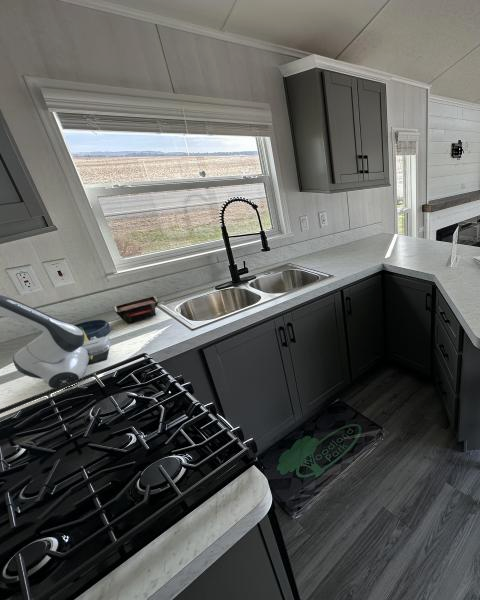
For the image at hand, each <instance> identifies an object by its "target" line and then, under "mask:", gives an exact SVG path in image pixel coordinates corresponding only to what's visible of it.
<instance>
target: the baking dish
mask: <svg viewBox="0 0 480 600" xmlns="http://www.w3.org/2000/svg"><path fill="white" fill-rule="evenodd" d="M158 304H159V298H158V296H155V295H151V296H148V297H144V298H139V299H136V300H131V301H129V302H124V303H122V304H121V303H120V304H117V305H115V306H114V307H113V312H114V313H115V314H116V315H118V316H119V317H120V318H121V319H122V320H123V322H124V323H126V325H131V324H134V323H137V322H140V321H143V320H146V319H150V318H153V317H156V316H157V313H156V308H157V306H158Z"/></svg>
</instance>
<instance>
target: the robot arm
mask: <svg viewBox="0 0 480 600" xmlns="http://www.w3.org/2000/svg"><path fill="white" fill-rule="evenodd" d="M3 317H4V318H6V317H7V318H12V319H15V320H17V321H19V322H22V323H24V324H26V325H29V326H31V327H33V328H35V329H38V330H40V331H41V332H42V333H41V334H40V335H38V336H37V337H36V338H34V339H33V340H32V341H30V342H29V343H27V344H25V346H23V347H22V348H21V349H19V350H17V352H16V353H13V356H12V362H13V365H14V367H15V368H16V371H18V372H19V373H21V374H22V375H25V376H27V377H30V378H34V379H40V380H43V381H44V382H45V383H46V384H47V386H48V387H49V388H51V389H53V390H56V389H55V388H58V387H60V386H63V385H65V384H68V383H70V382H73V381H75V380H78V379H80V378H82V377H83V378H84V376H85V374H86V371H87V367H88V366H89V365H88V361H89V358H90V356H93V355H96V354H100V353H103V352H106V351H107V350H108V349H109V350H110V347H111V346H112V342H111V340H110V338H109V336H103V337H101V338H96V336H95V337H91V338H90V340H89V341H85V342H84V340H85V336H84V332H83V331H82V330H81V329H80V328H78V327H76V326H74V325H75V324H71V323H69V322H66V321H63V320H61V319H58V318H56V317H54V316H51V315H49V314H46V313H44V312H42V311H40V310H38V309H36V308H34V307H31V306H29V305H28V304H25V303H23V302H20V301H19V300H16V299H14V298H11V297H8V296H5V295H2V294H0V318H3ZM83 378H82V379H83ZM77 385H79V383H77V384H75V385H73V386H70V387H67V388H65V389H63V390H64V391H65V390H69V389H72V388H73V387H76V386H77ZM63 390H62V391H63Z"/></svg>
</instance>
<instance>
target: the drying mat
mask: <svg viewBox="0 0 480 600" xmlns="http://www.w3.org/2000/svg"><path fill="white" fill-rule="evenodd" d="M109 352H110V348H109V349H108V350H107V351H106V352H103V353H100V354H96V355H93V358H92V360H89V361H88V365H87V366H89V365H92V364H95V363H99V362H102V361H103V362H104V361H106V360H108V358H109V357H108V356H109Z"/></svg>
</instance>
